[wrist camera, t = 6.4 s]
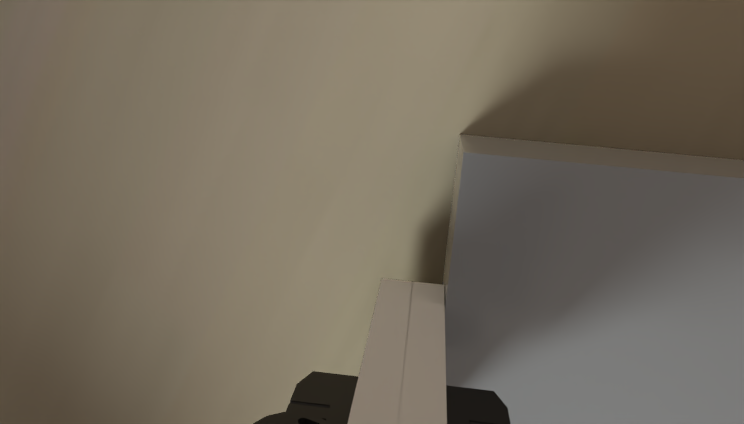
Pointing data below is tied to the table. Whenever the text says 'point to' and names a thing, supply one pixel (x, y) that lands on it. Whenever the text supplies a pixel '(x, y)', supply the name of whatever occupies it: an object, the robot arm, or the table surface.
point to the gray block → (596, 283)
